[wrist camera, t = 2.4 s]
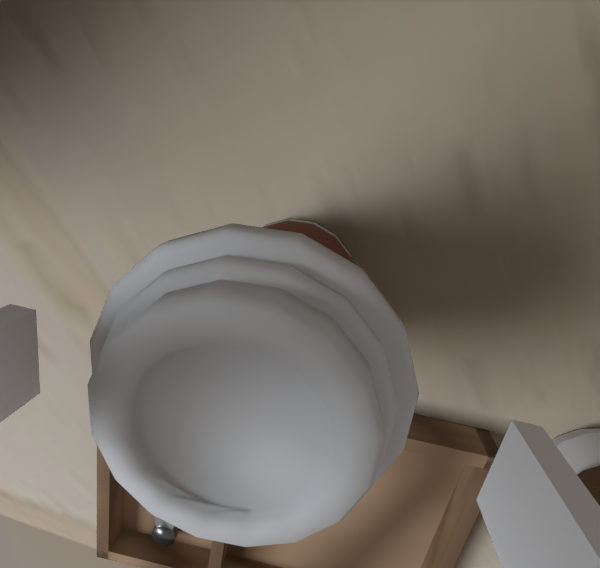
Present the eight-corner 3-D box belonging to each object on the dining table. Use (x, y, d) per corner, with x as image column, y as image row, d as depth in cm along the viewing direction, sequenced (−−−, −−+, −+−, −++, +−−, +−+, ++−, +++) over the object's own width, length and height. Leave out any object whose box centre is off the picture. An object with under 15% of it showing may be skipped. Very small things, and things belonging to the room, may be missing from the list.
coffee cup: (381, 184, 18) (444, 232, 7) (382, 355, 21) (428, 592, 9) (198, 196, 19) (-14, 255, 8) (223, 356, 22) (93, 569, 11)
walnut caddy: (115, 526, 28) (96, 556, 25) (120, 347, 23) (97, 367, 20) (414, 600, 26) (420, 638, 24) (488, 430, 21) (503, 460, 19)
